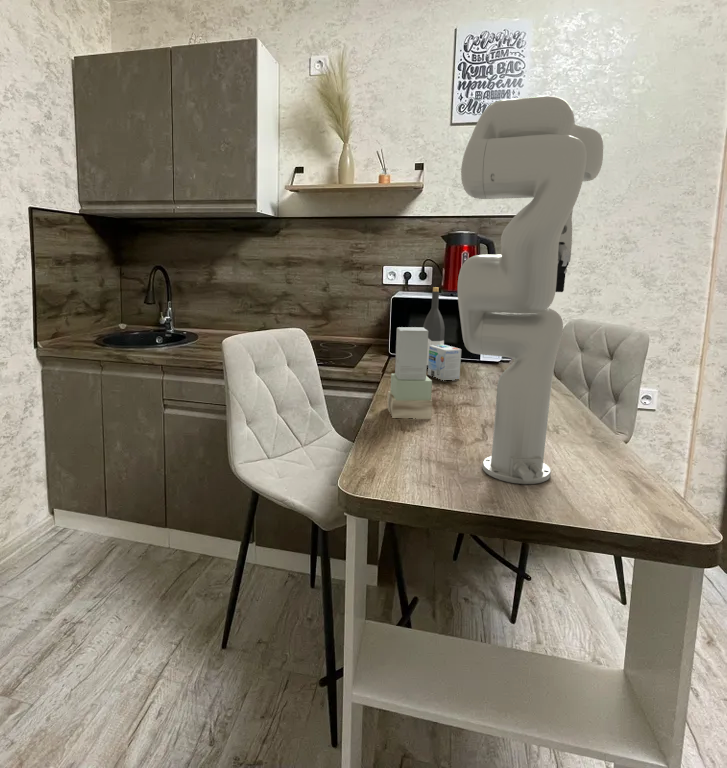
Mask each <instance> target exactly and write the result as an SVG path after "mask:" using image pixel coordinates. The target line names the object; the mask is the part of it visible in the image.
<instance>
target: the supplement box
mask: <svg viewBox="0 0 727 768" xmlns="http://www.w3.org/2000/svg"><path fill="white" fill-rule="evenodd" d="M427 348H428V331H427V330H426V329H425V328H423V326H422V327H416V326H414V327H413V326H411V327H409V326H408V327H406V326H405V327H403V326H401V327H400V326H399V327H396V340H395V365H394V366H395V370H394V374H396V376H397V378H398V379H399V380H426V376H427V371H428V369H427Z"/></svg>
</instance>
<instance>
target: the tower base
mask: <svg viewBox="0 0 727 768" xmlns="http://www.w3.org/2000/svg"><path fill="white" fill-rule="evenodd" d="M387 410H388V412H390V413H389V414H391V415H390V416H392V417H391V419H392V418H413V419H412V420H432V418H433V417H432V415H433V399H431V400H397V401H396V399H395V398H394V396H393V395H392V393H391V390H388V391H387ZM415 418H416V419H415Z"/></svg>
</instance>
